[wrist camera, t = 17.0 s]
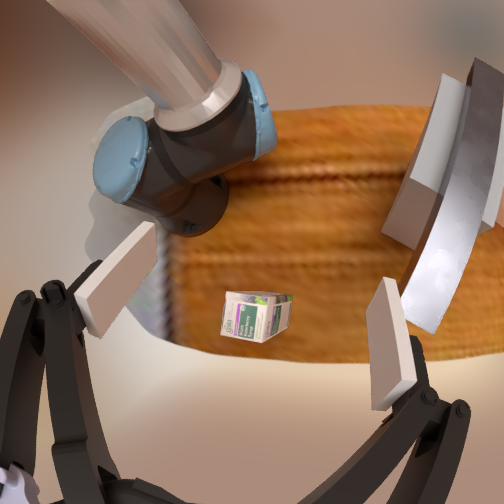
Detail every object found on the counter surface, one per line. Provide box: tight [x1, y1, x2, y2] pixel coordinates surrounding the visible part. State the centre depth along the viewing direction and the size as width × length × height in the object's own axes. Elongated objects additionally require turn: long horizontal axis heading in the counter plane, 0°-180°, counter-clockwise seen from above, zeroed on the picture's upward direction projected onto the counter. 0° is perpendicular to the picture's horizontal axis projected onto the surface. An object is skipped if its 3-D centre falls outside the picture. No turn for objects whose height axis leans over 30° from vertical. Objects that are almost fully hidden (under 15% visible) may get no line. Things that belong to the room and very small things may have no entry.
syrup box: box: [221, 291, 293, 343], centre depth 41 cm, size 6×6×14 cm
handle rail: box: [397, 58, 504, 335], centre depth 18 cm, size 4×26×4 cm, turn 150°
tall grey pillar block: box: [380, 74, 504, 251], centre depth 30 cm, size 9×14×24 cm, turn 150°
